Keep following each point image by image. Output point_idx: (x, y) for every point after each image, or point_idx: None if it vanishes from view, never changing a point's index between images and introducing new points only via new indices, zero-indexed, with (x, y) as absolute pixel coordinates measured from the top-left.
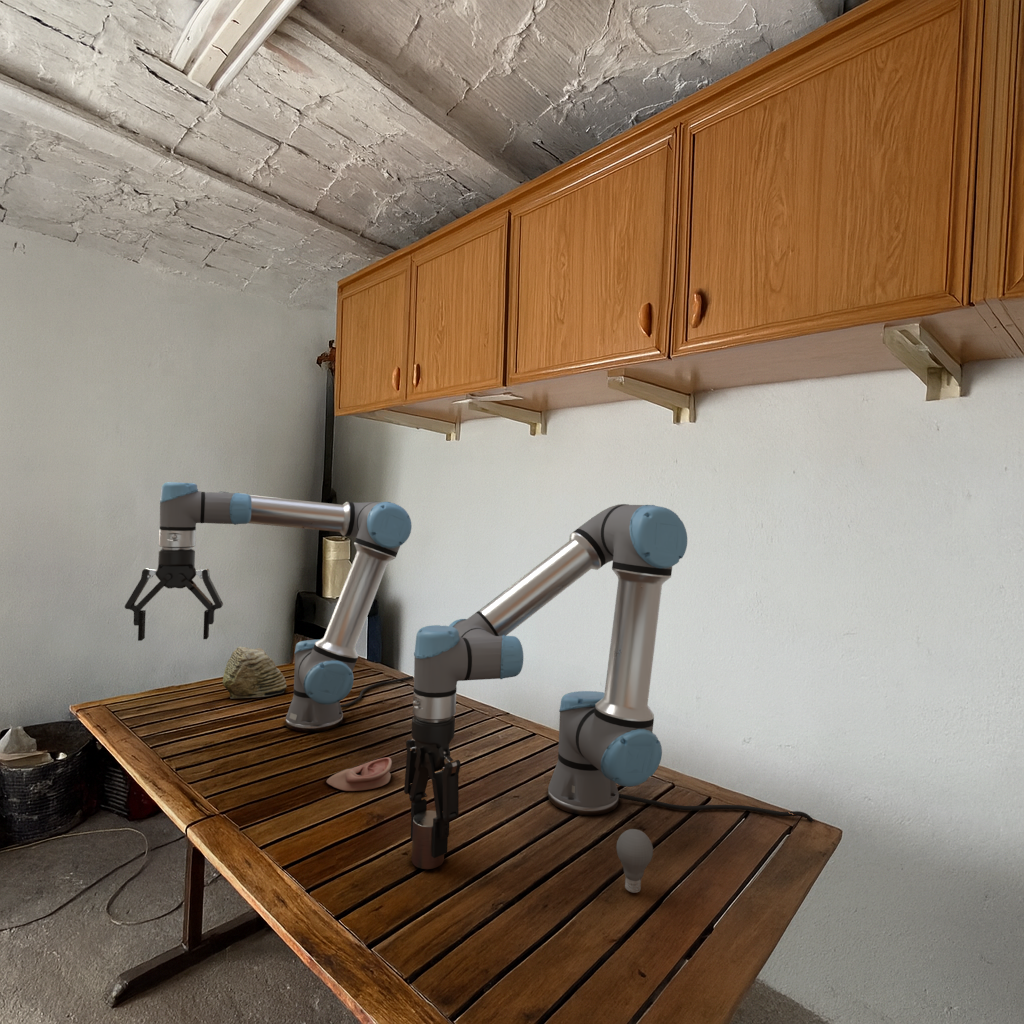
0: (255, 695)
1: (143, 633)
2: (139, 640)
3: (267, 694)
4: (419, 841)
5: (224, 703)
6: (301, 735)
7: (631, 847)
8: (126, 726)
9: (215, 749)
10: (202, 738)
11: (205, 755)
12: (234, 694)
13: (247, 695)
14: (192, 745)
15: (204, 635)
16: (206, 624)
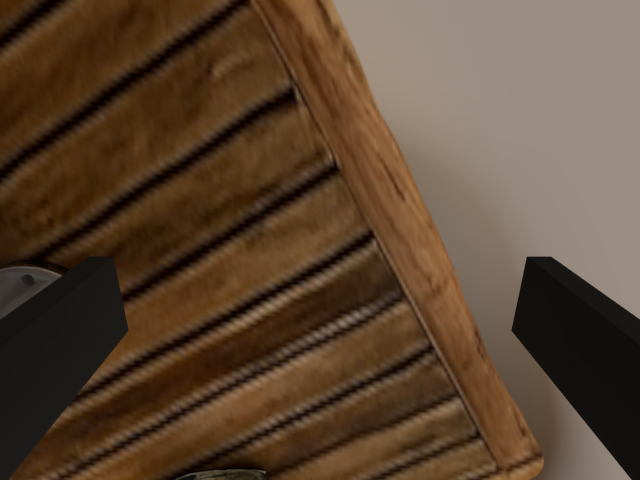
0: (213, 474)
1: (540, 321)
2: (541, 258)
3: (189, 477)
4: None
5: (272, 449)
6: (57, 249)
7: None
8: (442, 358)
9: (233, 199)
10: (275, 268)
11: (247, 167)
12: (254, 476)
13: (229, 474)
14: (288, 232)
15: (90, 270)
16: (9, 318)
